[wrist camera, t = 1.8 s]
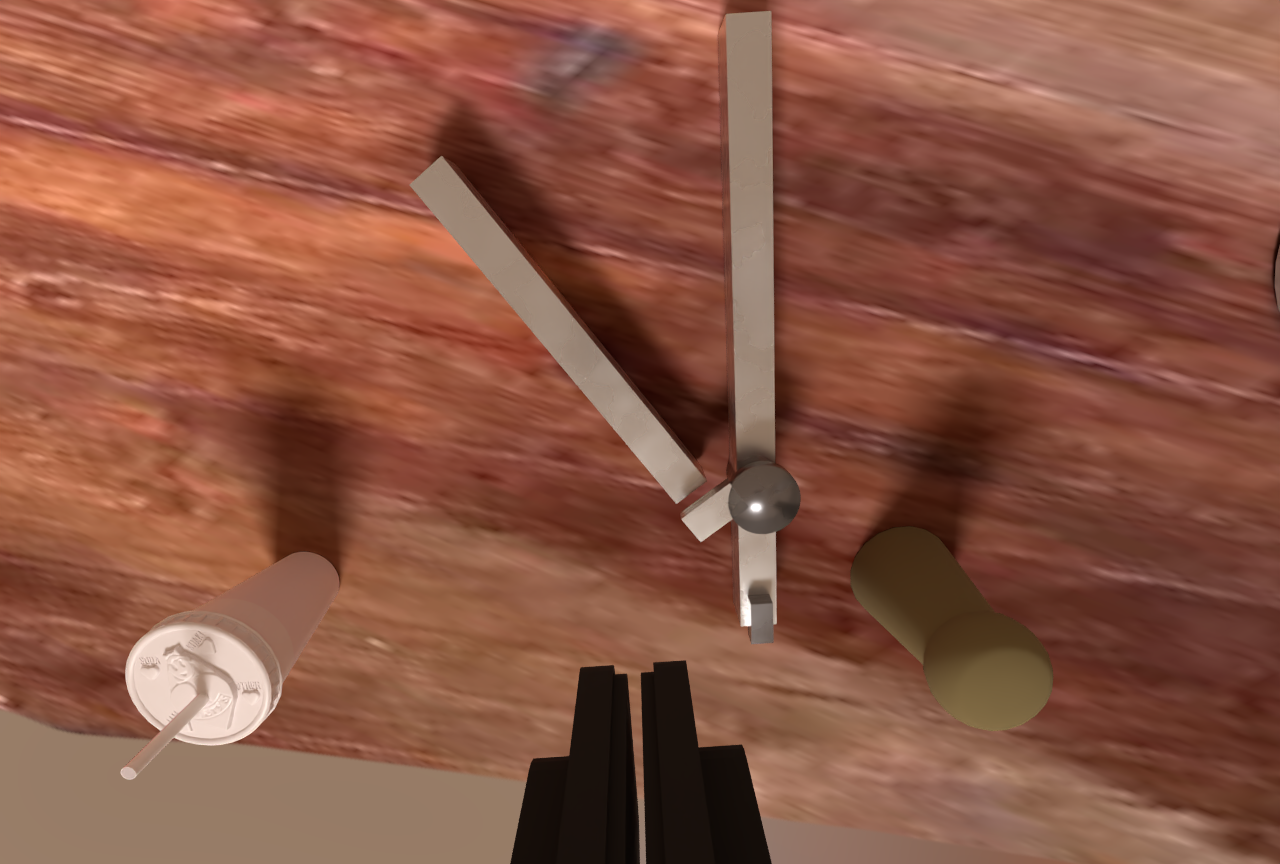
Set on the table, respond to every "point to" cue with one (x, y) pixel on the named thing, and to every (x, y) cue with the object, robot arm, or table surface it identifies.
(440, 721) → the table surface
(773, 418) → the tongs fixed
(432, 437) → the table surface
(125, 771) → the smoothie
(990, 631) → the olive pepper mill
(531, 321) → the tongs jaw
